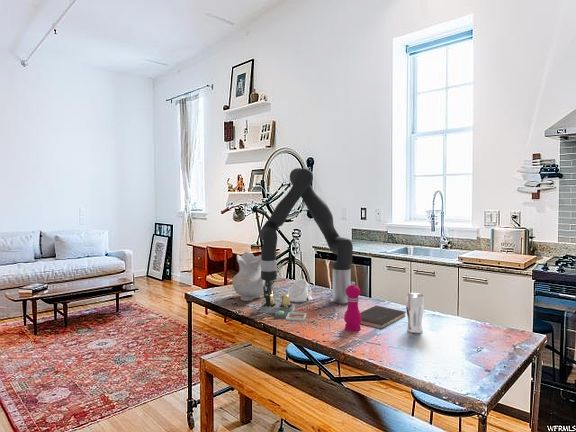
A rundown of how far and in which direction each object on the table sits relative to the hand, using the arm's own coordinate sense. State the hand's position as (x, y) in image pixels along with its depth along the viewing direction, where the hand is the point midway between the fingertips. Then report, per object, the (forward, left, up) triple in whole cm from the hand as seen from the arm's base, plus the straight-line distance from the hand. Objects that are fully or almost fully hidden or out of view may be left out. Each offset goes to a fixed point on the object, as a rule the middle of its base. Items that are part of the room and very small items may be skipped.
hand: (269, 304), depth 192 cm
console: (-7, +10, -4) cm, 13 cm away
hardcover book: (-51, +2, -4) cm, 51 cm away
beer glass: (-64, +17, -4) cm, 67 cm away
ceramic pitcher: (+14, -21, -4) cm, 25 cm away
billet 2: (-8, 0, -2) cm, 8 cm away
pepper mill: (-39, +18, -4) cm, 44 cm away
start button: (-7, +10, -2) cm, 13 cm away
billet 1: (0, 0, -2) cm, 2 cm away
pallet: (-4, 0, -4) cm, 5 cm away
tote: (-14, +10, -4) cm, 18 cm away
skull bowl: (-12, -20, -4) cm, 24 cm away
